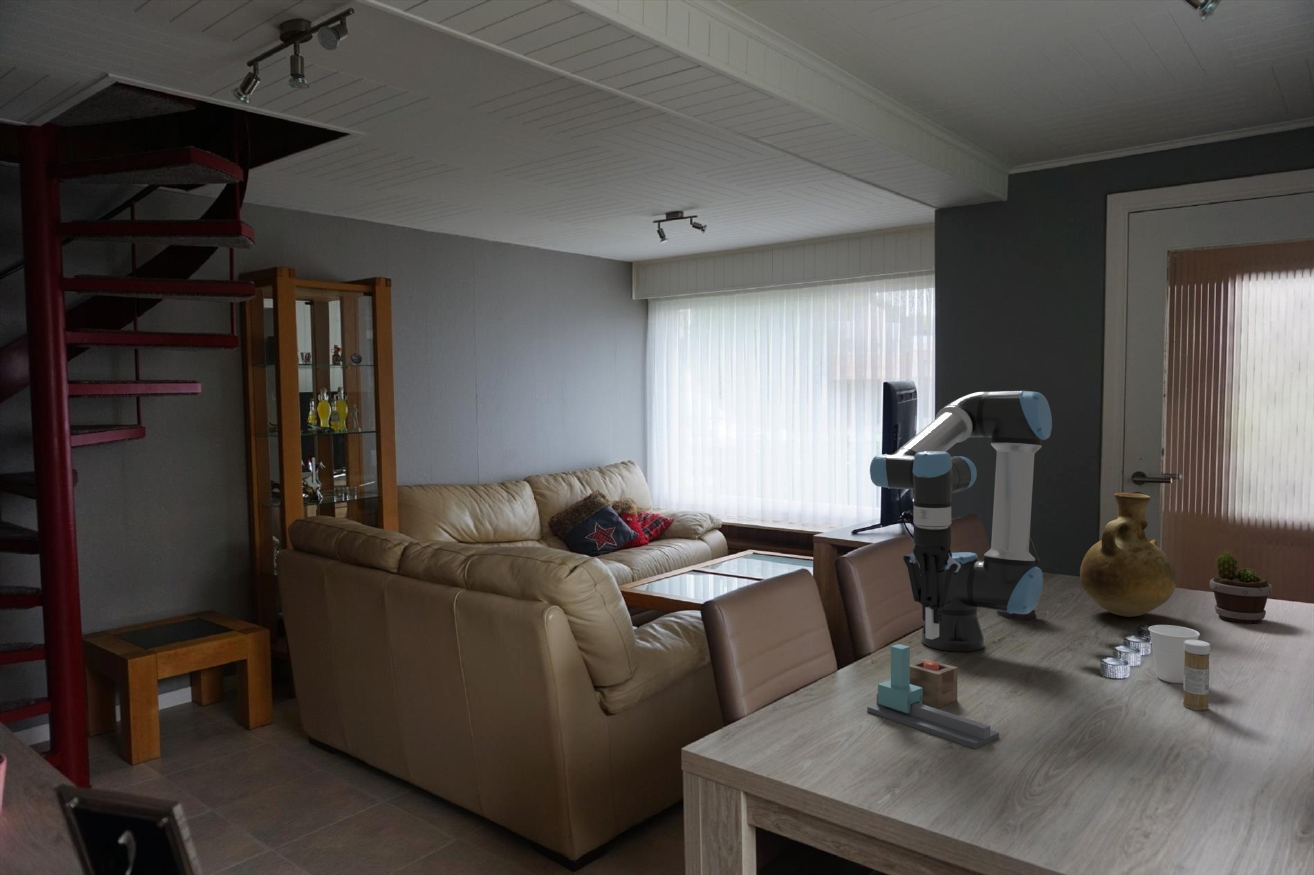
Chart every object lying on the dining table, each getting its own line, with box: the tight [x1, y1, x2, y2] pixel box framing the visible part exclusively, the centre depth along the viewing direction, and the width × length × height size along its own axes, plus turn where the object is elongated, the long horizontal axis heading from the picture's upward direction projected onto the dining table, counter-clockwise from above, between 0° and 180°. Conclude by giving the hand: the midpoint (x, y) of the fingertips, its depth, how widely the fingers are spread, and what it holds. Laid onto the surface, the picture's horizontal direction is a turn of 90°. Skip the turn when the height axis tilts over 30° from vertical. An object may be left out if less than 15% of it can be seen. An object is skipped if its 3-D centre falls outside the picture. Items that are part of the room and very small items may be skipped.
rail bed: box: [866, 692, 1000, 750], centre depth 169 cm, size 24×8×3 cm, turn 39°
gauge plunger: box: [924, 660, 939, 671], centre depth 182 cm, size 3×3×4 cm
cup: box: [1147, 624, 1201, 684], centre depth 194 cm, size 10×10×11 cm
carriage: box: [877, 643, 923, 713], centre depth 174 cm, size 7×5×12 cm
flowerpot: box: [1209, 549, 1273, 624], centre depth 243 cm, size 14×15×20 cm
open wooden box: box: [910, 658, 959, 709], centre depth 183 cm, size 8×7×7 cm
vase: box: [1079, 492, 1177, 618], centre depth 248 cm, size 24×24×35 cm
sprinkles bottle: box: [1182, 639, 1211, 711], centre depth 177 cm, size 5×5×14 cm
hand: (932, 637), depth 182 cm, fingers closed
